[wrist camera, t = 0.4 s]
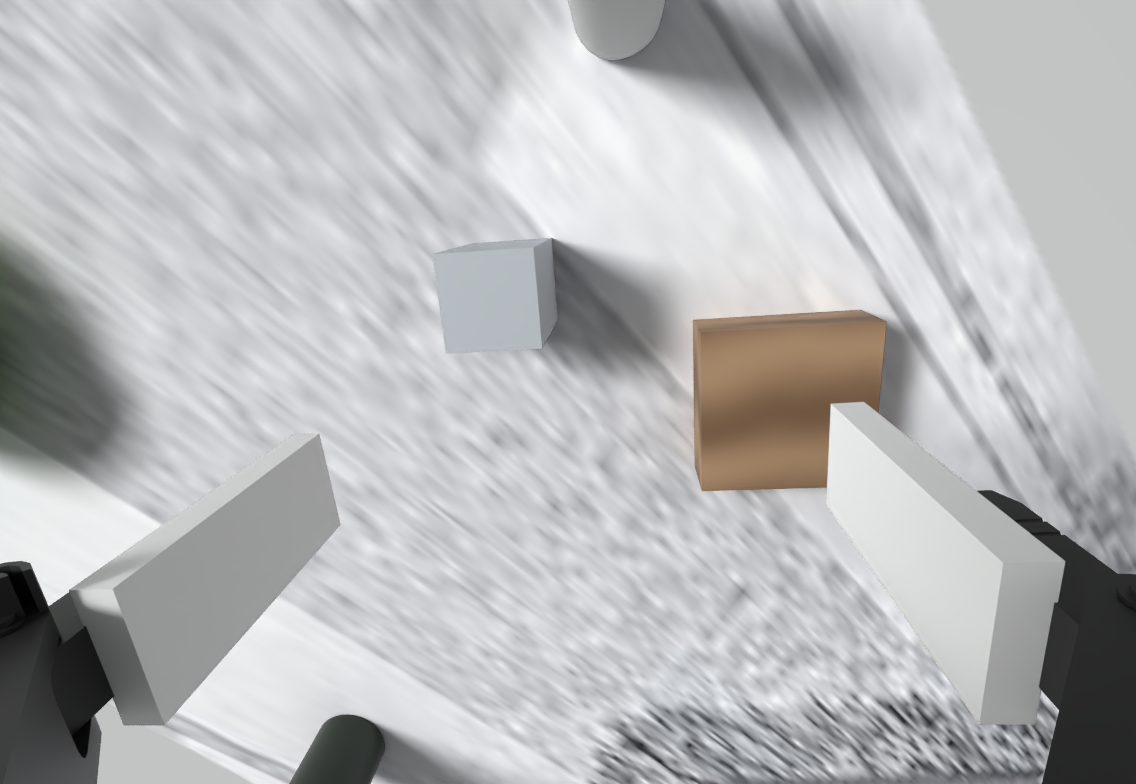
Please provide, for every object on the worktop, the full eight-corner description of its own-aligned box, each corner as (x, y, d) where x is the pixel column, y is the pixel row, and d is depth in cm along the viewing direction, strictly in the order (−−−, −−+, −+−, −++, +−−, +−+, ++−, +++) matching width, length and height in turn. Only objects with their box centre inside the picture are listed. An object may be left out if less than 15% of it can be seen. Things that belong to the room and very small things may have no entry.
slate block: (471, 243, 36) (432, 254, 28) (551, 237, 35) (533, 247, 28) (481, 323, 37) (446, 353, 30) (557, 318, 37) (542, 348, 29)
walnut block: (692, 318, 36) (700, 332, 33) (857, 308, 35) (886, 321, 32) (694, 463, 40) (701, 490, 36) (846, 457, 39) (871, 485, 35)
